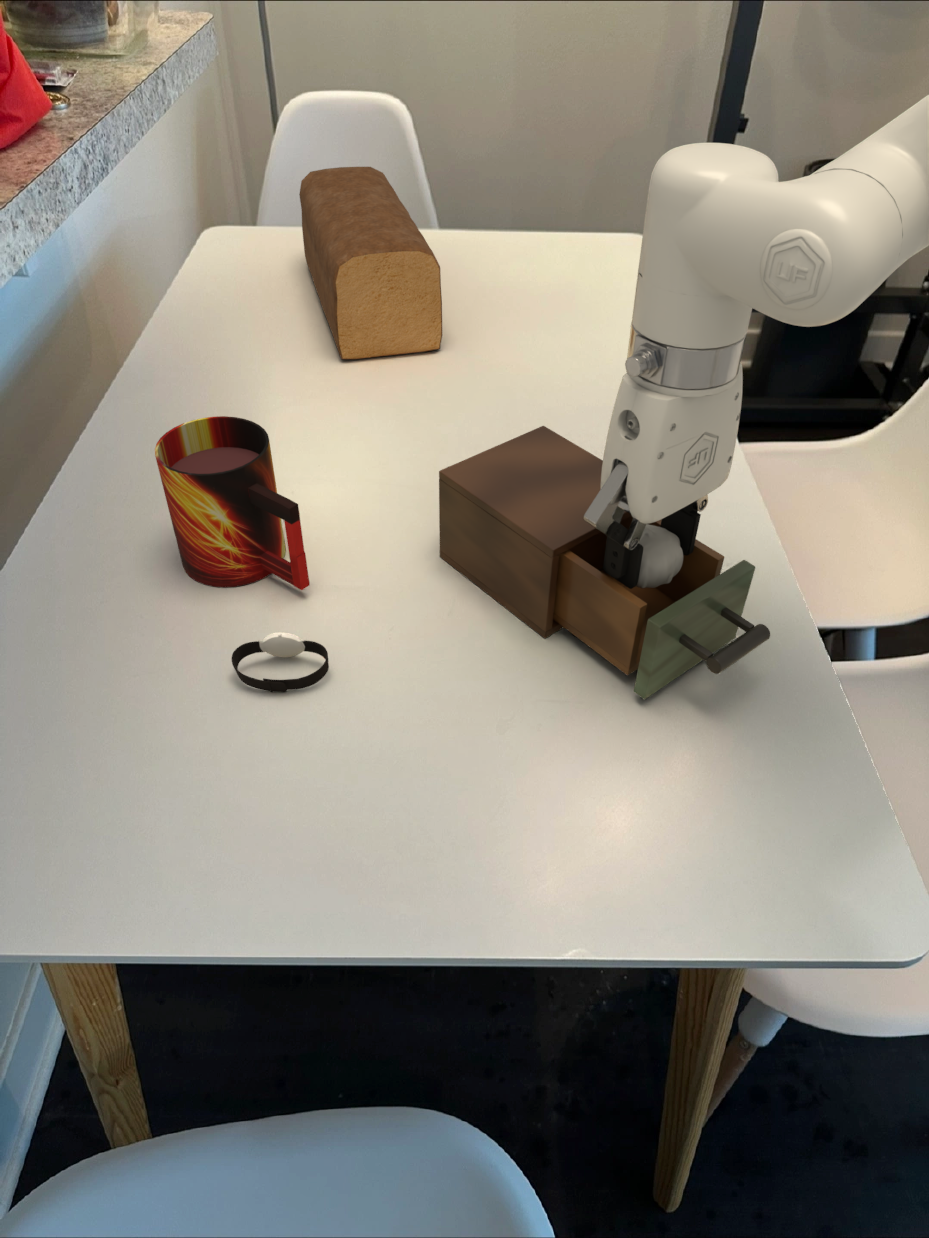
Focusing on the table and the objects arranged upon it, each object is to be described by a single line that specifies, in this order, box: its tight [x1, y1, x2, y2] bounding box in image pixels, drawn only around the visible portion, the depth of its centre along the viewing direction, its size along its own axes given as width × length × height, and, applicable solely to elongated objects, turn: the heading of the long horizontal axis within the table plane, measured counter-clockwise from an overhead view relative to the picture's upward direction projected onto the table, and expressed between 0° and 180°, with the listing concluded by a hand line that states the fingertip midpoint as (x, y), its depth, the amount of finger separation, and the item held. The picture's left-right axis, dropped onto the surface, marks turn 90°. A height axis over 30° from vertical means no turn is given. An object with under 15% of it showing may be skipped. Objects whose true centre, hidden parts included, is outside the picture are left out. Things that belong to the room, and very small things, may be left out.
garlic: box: [636, 524, 683, 588], centre depth 73 cm, size 6×5×5 cm
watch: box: [231, 631, 330, 693], centre depth 74 cm, size 8×5×4 cm, turn 92°
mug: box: [154, 415, 310, 591], centre depth 82 cm, size 10×14×12 cm
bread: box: [299, 166, 443, 360], centre depth 124 cm, size 14×34×14 cm, turn 15°
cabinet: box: [438, 425, 632, 639], centre depth 82 cm, size 15×13×10 cm
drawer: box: [553, 516, 771, 700], centre depth 75 cm, size 18×11×8 cm, turn 39°
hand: (648, 560), depth 73 cm, fingers closed on garlic, 5 cm apart
